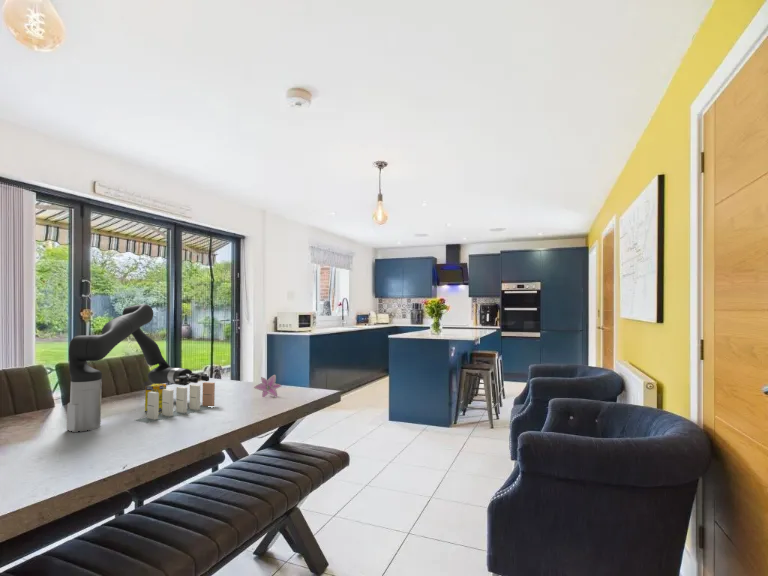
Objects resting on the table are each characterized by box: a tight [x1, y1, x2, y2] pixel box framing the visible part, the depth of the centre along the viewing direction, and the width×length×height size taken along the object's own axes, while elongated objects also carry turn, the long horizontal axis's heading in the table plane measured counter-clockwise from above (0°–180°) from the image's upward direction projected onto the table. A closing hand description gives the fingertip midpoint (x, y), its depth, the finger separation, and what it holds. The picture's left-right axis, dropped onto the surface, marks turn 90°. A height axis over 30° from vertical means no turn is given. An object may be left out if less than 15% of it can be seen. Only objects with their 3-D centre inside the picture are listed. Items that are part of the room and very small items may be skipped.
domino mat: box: [135, 404, 215, 424], centre depth 175 cm, size 31×9×1 cm, turn 148°
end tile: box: [146, 391, 159, 420], centre depth 166 cm, size 2×5×10 cm, turn 58°
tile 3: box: [175, 386, 188, 413], centre depth 176 cm, size 2×5×10 cm, turn 58°
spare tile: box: [201, 381, 216, 406], centre depth 187 cm, size 2×5×10 cm, turn 73°
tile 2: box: [188, 383, 201, 410], centre depth 181 cm, size 2×5×10 cm, turn 58°
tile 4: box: [161, 388, 174, 416], centre depth 171 cm, size 2×5×10 cm, turn 58°
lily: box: [253, 374, 282, 398], centre depth 209 cm, size 12×12×10 cm
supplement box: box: [144, 383, 167, 413], centre depth 179 cm, size 6×6×11 cm
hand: (202, 379), depth 189 cm, fingers open, 5 cm apart
